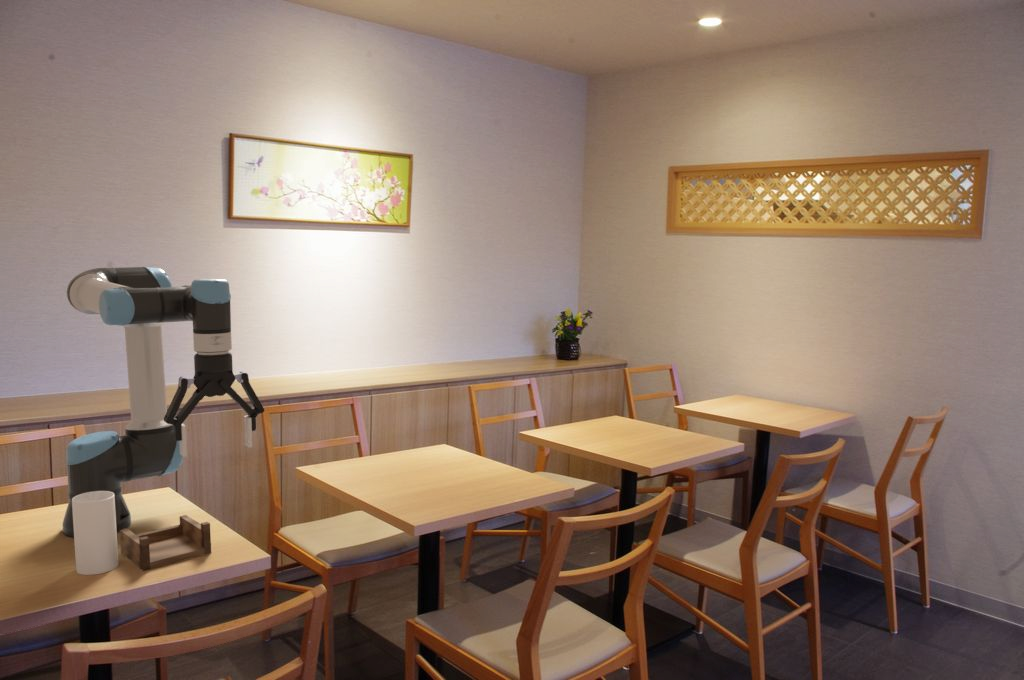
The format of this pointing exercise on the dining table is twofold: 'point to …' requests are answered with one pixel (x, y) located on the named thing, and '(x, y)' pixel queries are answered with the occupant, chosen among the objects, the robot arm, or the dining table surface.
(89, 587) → the dining table surface
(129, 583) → the dining table surface
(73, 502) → the cup
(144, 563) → the tray
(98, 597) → the dining table surface
